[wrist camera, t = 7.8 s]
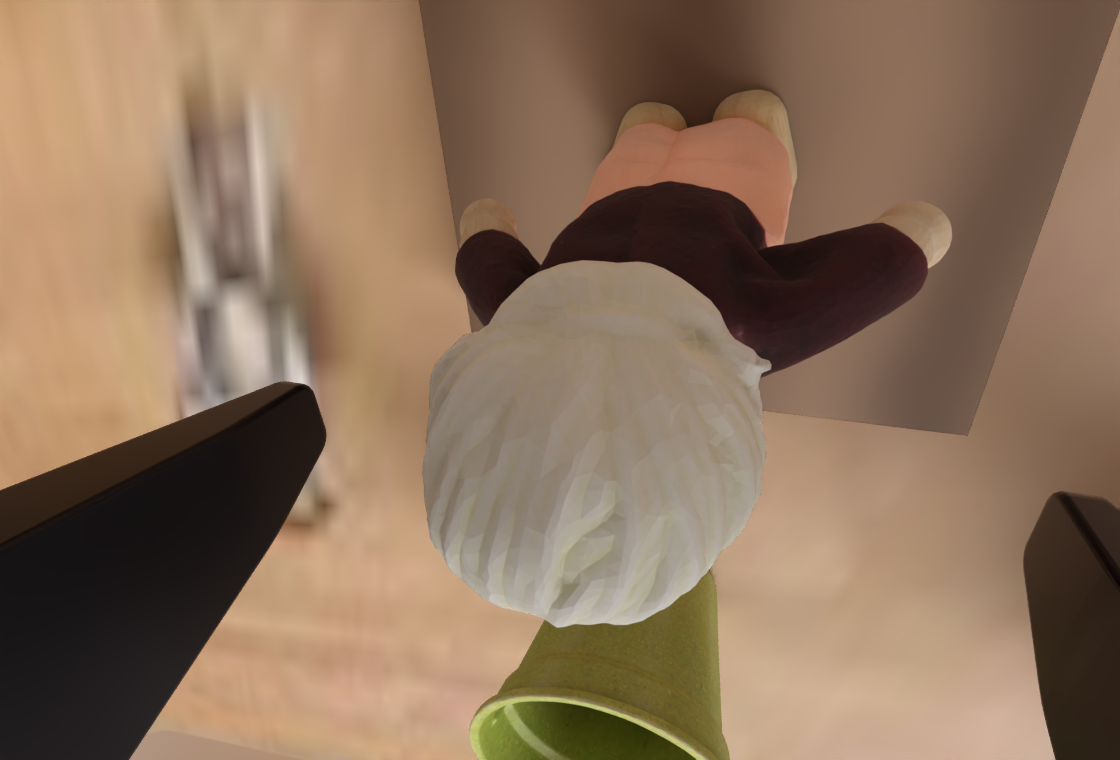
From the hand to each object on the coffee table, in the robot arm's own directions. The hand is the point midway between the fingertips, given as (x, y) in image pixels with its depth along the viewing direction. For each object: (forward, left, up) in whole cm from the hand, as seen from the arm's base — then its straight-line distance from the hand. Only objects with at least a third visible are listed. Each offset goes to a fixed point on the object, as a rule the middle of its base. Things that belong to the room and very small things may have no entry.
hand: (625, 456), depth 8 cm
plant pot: (+2, +18, -13) cm, 23 cm away
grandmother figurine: (0, -1, -10) cm, 10 cm away
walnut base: (0, -1, -13) cm, 13 cm away
